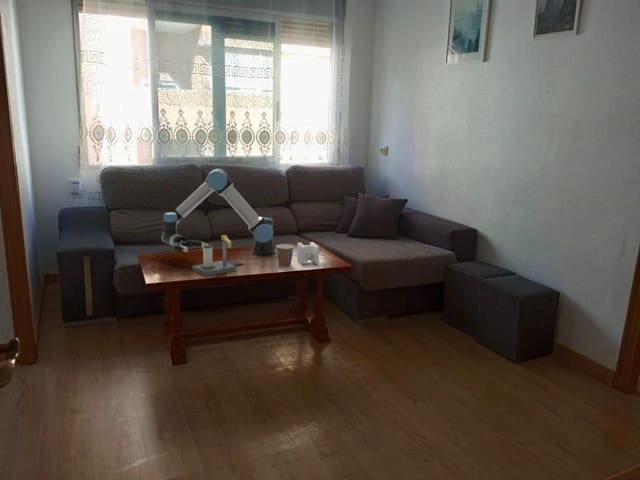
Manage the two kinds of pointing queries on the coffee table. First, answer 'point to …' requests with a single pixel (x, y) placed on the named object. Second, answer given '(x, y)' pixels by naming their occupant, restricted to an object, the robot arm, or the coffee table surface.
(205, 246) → the plug
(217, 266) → the socket plate
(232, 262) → the pad
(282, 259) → the coffee cup
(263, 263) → the coffee table surface
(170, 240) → the robot arm
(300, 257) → the cable organizer
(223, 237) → the clip
